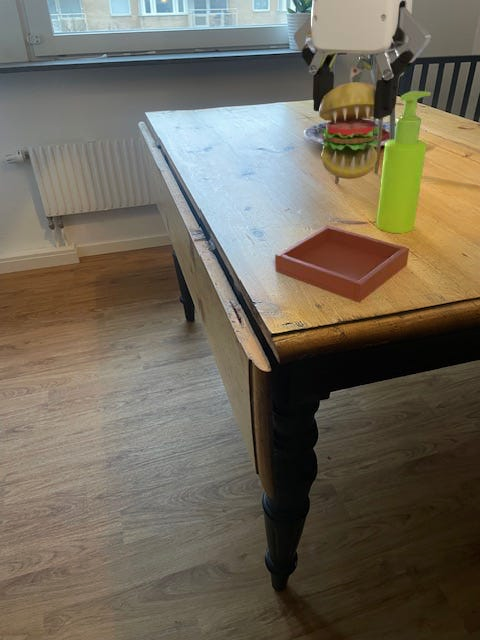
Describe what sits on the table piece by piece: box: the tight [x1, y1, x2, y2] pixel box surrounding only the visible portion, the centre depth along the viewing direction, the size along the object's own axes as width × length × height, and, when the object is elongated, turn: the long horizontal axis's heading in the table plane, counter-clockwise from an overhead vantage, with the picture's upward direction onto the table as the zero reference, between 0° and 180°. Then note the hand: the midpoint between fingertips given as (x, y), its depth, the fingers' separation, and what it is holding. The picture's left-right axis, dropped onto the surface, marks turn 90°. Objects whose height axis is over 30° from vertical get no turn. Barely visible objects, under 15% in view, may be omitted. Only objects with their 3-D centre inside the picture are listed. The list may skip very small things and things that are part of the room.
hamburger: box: [318, 64, 379, 180], centre depth 60 cm, size 8×7×12 cm
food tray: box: [274, 225, 410, 303], centre depth 70 cm, size 14×13×3 cm
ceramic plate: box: [303, 119, 396, 149], centre depth 125 cm, size 26×26×3 cm
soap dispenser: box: [376, 90, 432, 234], centre depth 76 cm, size 6×7×20 cm
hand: (351, 111), depth 59 cm, fingers closed on hamburger, 7 cm apart
